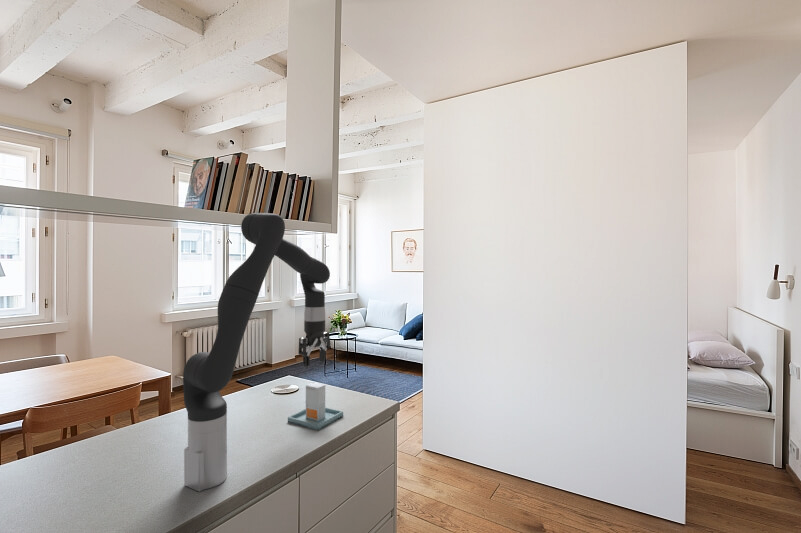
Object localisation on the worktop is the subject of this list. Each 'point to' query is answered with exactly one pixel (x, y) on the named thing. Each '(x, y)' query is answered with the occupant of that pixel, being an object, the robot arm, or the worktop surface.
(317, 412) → the skincare box
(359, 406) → the worktop surface
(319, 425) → the tray
